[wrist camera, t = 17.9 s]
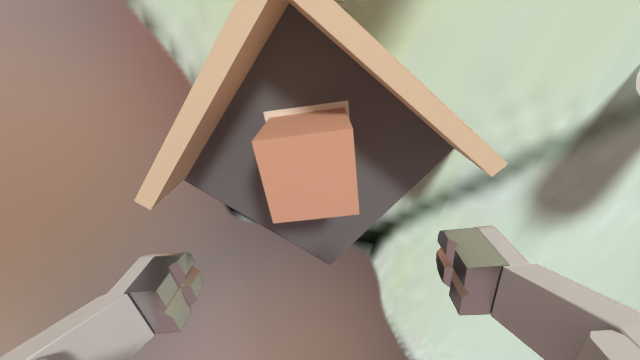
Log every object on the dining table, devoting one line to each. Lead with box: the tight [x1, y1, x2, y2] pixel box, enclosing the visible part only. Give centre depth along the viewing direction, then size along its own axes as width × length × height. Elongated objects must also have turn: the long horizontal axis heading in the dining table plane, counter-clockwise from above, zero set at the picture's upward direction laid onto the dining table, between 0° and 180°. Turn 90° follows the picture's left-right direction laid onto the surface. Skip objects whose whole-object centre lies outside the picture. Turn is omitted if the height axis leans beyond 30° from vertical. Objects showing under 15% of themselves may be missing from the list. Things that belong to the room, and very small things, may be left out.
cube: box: [252, 107, 359, 224], centre depth 16 cm, size 5×5×5 cm
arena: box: [134, 0, 508, 265], centre depth 17 cm, size 15×15×5 cm
